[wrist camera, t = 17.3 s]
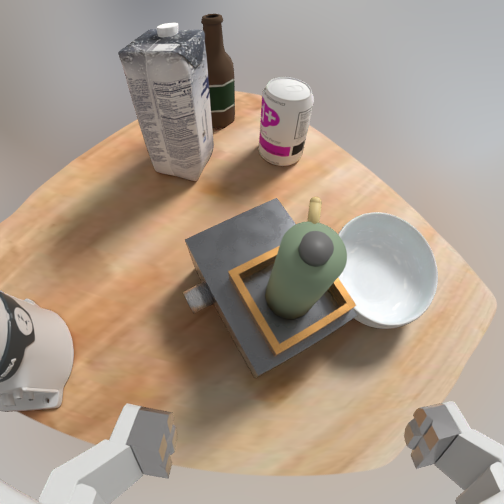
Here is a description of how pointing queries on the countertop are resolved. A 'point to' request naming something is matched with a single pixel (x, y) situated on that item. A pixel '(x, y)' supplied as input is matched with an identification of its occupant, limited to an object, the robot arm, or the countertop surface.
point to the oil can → (305, 265)
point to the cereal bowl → (387, 270)
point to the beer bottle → (219, 73)
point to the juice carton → (171, 98)
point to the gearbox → (258, 288)
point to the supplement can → (284, 120)
